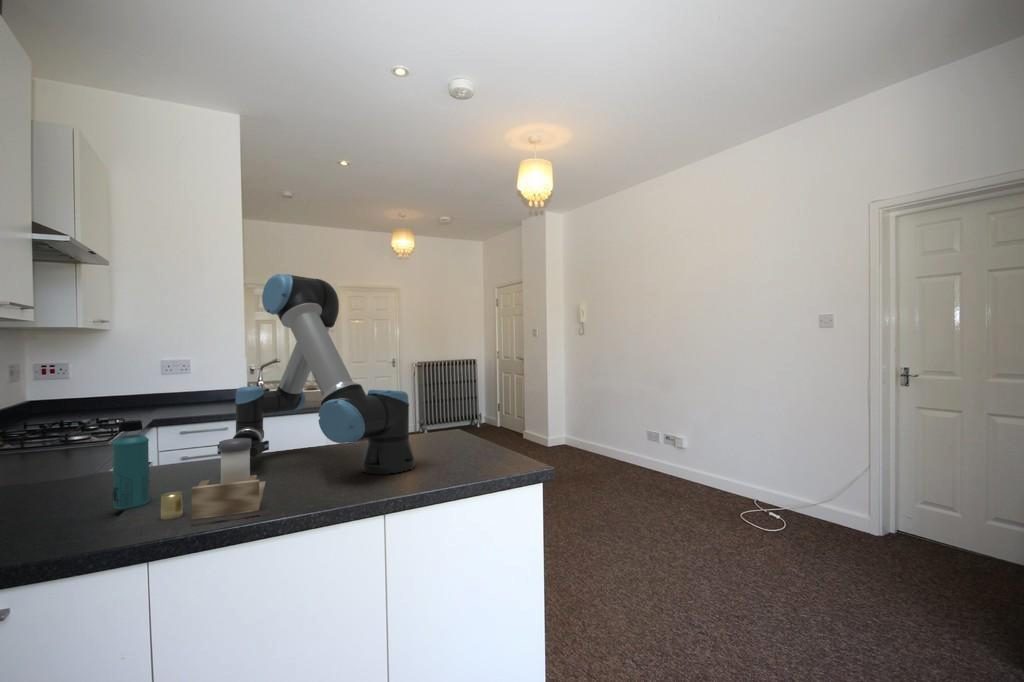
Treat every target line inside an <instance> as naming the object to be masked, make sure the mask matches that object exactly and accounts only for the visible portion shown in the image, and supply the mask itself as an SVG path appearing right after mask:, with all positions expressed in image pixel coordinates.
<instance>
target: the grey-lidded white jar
mask: <svg viewBox="0 0 1024 682" xmlns="http://www.w3.org/2000/svg"><path fill="white" fill-rule="evenodd" d="M218 445H219V451H220V452H221V455H220V484H223V483H232V482H241V481H247V480H248V477H249V476H250V475H251V456H250V448H251V439H250V438H235V439H233V438H228V439H223V440H221V441H219V442H218Z"/></svg>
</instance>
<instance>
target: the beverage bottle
mask: <svg viewBox="0 0 1024 682" xmlns="http://www.w3.org/2000/svg"><path fill="white" fill-rule="evenodd" d="M118 425H119V426H118V432H120V433H123V432H124V433H128V432H137V431H141V430H143V422H142V420H139V419H131V420H123V421H120V422H119V424H118ZM149 441H150V439H149V438H148V437H147V436H145V435H144V434H129V435H123V436H119V437H117V438H116V439H115V440H114V441H113V442H112V476H111V477H112V484H113V485H112V498H111V499H112V505H113V508H114V509H115V510H116V509H117V510H124V509H125V510H126V509H131V508H132V509H133V508H138V507H141V506H144V505H146V504H148V503H149V502H150V496H151V493H150V481H151V480H150V463H149V459H150V457H149V456H150V455H149V453H150V451H149Z"/></svg>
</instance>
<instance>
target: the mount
mask: <svg viewBox="0 0 1024 682" xmlns="http://www.w3.org/2000/svg"><path fill="white" fill-rule="evenodd" d="M257 475H258V474H253V475H251V474H250V476H249V477H248V480H247V481H241V482H232V483H223V484H221V483H216V484H211V479H207V480H205V479H204V480H201V481H200V482H199V484H198V485H197V486H192V487H191V496H190V497H191V520H197V519H198V520H199V519H205V518H206V519H208V518H213V517H214V518H215V517H221V516H229V515H235V514H236V515H237V514H243V513H244V514H245V513H251V512H259V511H260V507H261V504H262V498H263V494H264V490H265V486H266V480H264V481H260V479H257V478H258V476H257ZM255 517H260V514H256V515H251V516H242V517H241V516H240V517H235V518H228V519H220V520H213V521H205V522H199V523H192V524H190V526H191V527H190V528H193V527H201V526H208V525H214V524H222V522H223V523H229V521H230V522H236V521H235V520H237V521H241V520H240V519H245V520H249V519H248V518H252V519H256V518H255Z"/></svg>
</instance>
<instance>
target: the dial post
mask: <svg viewBox="0 0 1024 682" xmlns="http://www.w3.org/2000/svg"><path fill="white" fill-rule="evenodd" d="M182 516H183V492H182V491H169V492H166V493H163V494H161V495H160V519H161V520H173V519H178V518H180V517H182Z"/></svg>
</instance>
